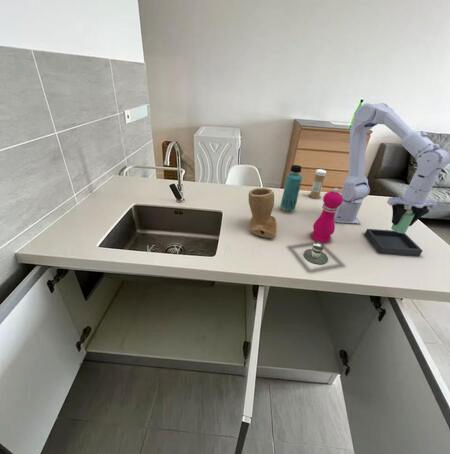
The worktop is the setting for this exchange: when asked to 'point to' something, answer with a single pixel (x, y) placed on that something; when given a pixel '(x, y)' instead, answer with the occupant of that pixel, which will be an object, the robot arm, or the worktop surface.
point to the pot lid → (316, 254)
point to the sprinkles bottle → (317, 183)
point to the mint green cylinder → (404, 222)
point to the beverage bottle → (291, 188)
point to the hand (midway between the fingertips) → (401, 224)
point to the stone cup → (262, 212)
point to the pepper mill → (327, 216)
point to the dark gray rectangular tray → (392, 242)
